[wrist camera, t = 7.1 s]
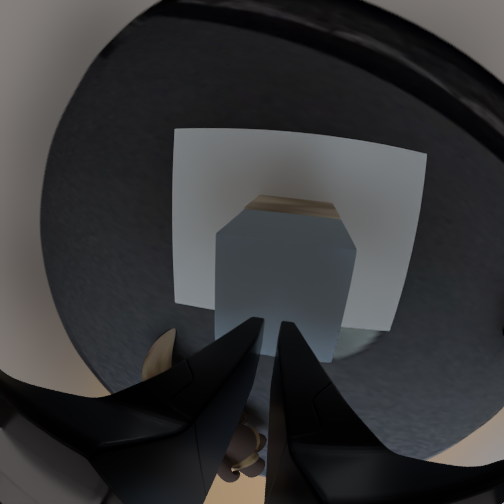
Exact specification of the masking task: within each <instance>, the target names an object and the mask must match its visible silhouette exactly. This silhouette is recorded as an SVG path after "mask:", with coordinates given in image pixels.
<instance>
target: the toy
mask: <svg viewBox="0 0 504 504" xmlns="http://www.w3.org/2000/svg"><path fill="white" fill-rule="evenodd" d="M175 335H176V329H175V328H173V329H171V330H169V331H167V332H166V333H165V334H163V335H162V336H161V337H160V338H159V339H158V340H157V341H156V342H155V343H154V344H153V346H152V347H151V348H150V350H149V351H148V354H147V356H146V358H145V361H144V365H143V371H142V380H143V381H145V380H147V379H149V378H151V377H154V376H156V375H158V374H160V373H162V372H164V371H166V370H167V369H169V368H171V367H172V351H173V345H174V340H175ZM246 421H247V414H246V413H245V412H244V411H243V412H242V414H241V417H240V419H239V422H238V424H237V427H236V429H235V432H234V434H233V436H232V439H231V441H230V444H229V446H228V448H227V451H226V453H225V456H224V458H223V460H222V463H221V465H220V467H219V469H218V472H217V474H218V475H219V476H220V478H221V479H223V480H224V481H226V482H234V481H236V480H237V479H238V478H239V476H240V472H242V473H243V474H245V475H246V476H248V477H256V476H258V475H259V474H260V473H262V471H263V470H264V467H265V461H264V460H263V459H262V458H260V457H259V454H258V453H257V452H259V451H260V450H262V449H263V448H264V446H265V444H266V441H267V439H266V437H265V436H264V435H262V434H260V433H258V431H257V430H256V429H254V428H252V427H250V426H246V425H243V424H244V423H245V422H246ZM231 468H233V469H235V471H233V472H232V470H231ZM239 471H240V472H239Z"/></svg>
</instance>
